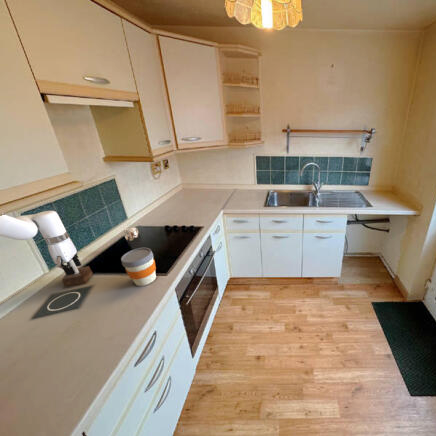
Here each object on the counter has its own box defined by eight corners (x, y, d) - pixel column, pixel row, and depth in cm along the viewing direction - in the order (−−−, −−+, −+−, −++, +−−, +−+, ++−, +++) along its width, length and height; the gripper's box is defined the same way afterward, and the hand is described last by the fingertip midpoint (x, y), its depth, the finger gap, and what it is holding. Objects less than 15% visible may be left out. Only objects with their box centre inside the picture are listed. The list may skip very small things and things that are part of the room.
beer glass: (148, 249, 137) (140, 227, 131) (139, 256, 131) (131, 233, 125) (137, 248, 138) (129, 226, 132) (128, 255, 132) (119, 232, 126)
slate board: (33, 319, 92) (32, 318, 91) (52, 295, 104) (51, 294, 103) (78, 308, 96) (78, 307, 96) (91, 287, 108) (91, 286, 108)
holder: (66, 288, 108) (61, 279, 106) (73, 277, 115) (69, 269, 113) (86, 283, 110) (82, 275, 108) (92, 273, 117) (88, 265, 115)
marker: (76, 282, 111) (65, 262, 106) (78, 279, 113) (67, 259, 108) (81, 281, 112) (71, 261, 107) (83, 278, 114) (73, 258, 109)
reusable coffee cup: (165, 273, 116) (158, 249, 110) (146, 290, 105) (136, 264, 99) (145, 270, 119) (136, 246, 113) (124, 286, 108) (113, 260, 102)
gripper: (56, 230, 108) (73, 261, 116) (34, 249, 94) (55, 283, 101) (76, 228, 111) (90, 258, 118) (57, 245, 96) (75, 279, 104)
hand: (74, 269), depth 110 cm, fingers open, 5 cm apart
